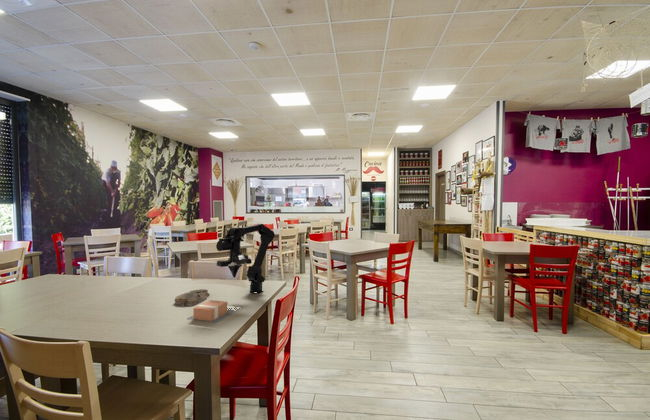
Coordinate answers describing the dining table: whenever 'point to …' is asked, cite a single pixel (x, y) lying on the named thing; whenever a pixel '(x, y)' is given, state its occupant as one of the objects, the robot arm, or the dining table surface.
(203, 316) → the tall box
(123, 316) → the dining table surface
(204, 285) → the dining table surface
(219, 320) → the mat
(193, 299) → the weathered wood piece
